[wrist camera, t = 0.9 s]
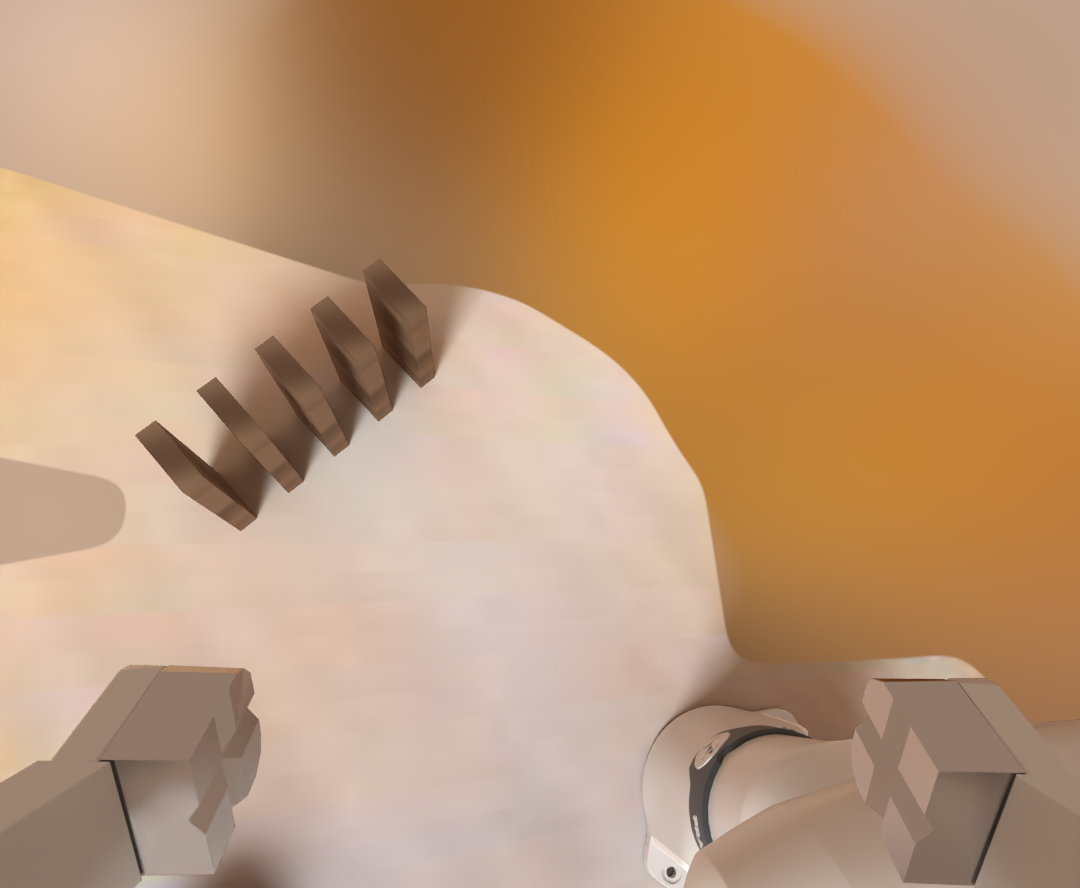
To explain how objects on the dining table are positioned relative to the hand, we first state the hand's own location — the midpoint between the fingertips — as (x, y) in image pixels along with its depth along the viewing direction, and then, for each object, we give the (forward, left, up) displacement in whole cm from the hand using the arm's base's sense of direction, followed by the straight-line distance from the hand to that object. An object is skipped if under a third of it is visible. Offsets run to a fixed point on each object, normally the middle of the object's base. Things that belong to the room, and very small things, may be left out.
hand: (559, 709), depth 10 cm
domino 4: (+29, -10, -61) cm, 68 cm away
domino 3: (+29, -5, -61) cm, 68 cm away
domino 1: (+29, +6, -61) cm, 68 cm away
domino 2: (+29, +1, -61) cm, 68 cm away
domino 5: (+29, -16, -61) cm, 69 cm away
